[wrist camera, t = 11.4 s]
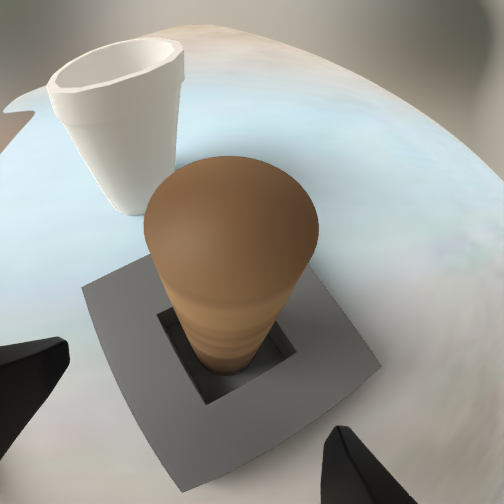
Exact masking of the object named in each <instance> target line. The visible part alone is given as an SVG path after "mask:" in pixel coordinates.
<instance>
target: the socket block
mask: <svg viewBox="0 0 504 504" xmlns="http://www.w3.org/2000/svg"><path fill="white" fill-rule="evenodd" d="M81 288H82V291H83V294H84V298H85V301H86V304H87V307H88V310H89V313H90V316H91V319H92V322H93V325H94V328H95V331H96V333H97V336H98V339H99V341H100V344H101V346H102V349H103V351H104V354H105V356H106V359H107V361H108V364H109V366H110V368H111V371H112V373H113V375H114V377H115V380H116V382H117V384H118V386H119V388H120V390H121V392H122V394H123V396H124V398H125V400H126V402H127V404H128V406H129V408H130V410H131V412H132V414H133V416H134V418H135V420H136V422H137V423H138V425H139V427H140V429H141V431H142V432H143V434H144V436H145V437H146V439H147V441H148V443H149V444H150V446H151V448H152V449H153V451H154V452H155V454H156V456H157V457H158V459H159V460H160V462H161V463H162V465H163V466H164V468H165V469H166V471H167V472H168V474H169V475H170V477H171V478H172V480H173V481H174V482H175V484H176V485H177V487H178V488H179V489H180V491H181V492H182V493H183V492H185V491H188V490H190V489H193V488H195V487H197V486H200V485H202V484H204V483H207V482H209V481H211V480H213V479H215V478H217V477H220V476H222V475H224V474H226V473H228V472H230V471H232V470H234V469H236V468H238V467H240V466H241V465H243V464H245V463H247V462H249V461H251V460H253V459H254V458H256V457H258V456H260V455H261V454H263V453H265V452H267V451H268V450H270V449H272V448H273V447H275V446H277V445H278V444H280V443H282V442H283V441H285V440H286V439H288V438H289V437H291V436H293V435H294V434H296V433H297V432H299V431H300V430H302V429H303V428H305V427H306V426H307V425H309V424H310V423H312V422H313V421H315V420H316V419H317V418H319V417H320V416H322V415H323V414H324V413H326V412H327V411H328V410H330V409H331V408H332V407H334V406H335V405H336V404H338V403H339V402H340V401H341V400H343V399H344V398H345V397H346V396H348V395H349V394H350V393H351V392H353V391H354V390H355V389H356V388H357V387H359V386H360V385H361V384H362V383H363V382H364V381H366V380H367V379H368V378H369V377H370V376H371V375H373V374H374V373H375V372H376V371H377V370H378V369H379V368H380V367H381V364H380V363H379V361H378V360H377V358H376V357H375V356H374V354H373V353H372V351H371V350H370V348H369V347H368V346H367V344H366V343H365V341H364V340H363V338H362V337H361V336H360V334H359V333H358V331H357V330H356V329H355V327H354V326H353V324H352V323H351V322H350V320H349V319H348V317H347V316H346V315H345V313H344V312H343V311H342V309H341V308H340V306H339V305H338V304H337V302H336V301H335V300H334V298H333V297H332V296H331V294H330V293H329V292H328V290H327V289H326V287H325V286H324V285H323V283H322V282H321V281H320V279H319V278H318V277H317V275H316V274H315V273H314V271H313V270H312V269H311V267H310V266H309V265H308V264H307V266H306V268H305V270H304V271H303V273H302V275H301V277H300V279H299V280H298V282H297V284H296V286H295V288H294V289H293V291H292V293H291V295H290V296H289V298H288V300H287V302H286V303H285V305H284V307H283V309H282V310H281V312H280V314H279V315H278V317H277V319H276V321H275V322H274V324H273V326H272V327H271V329H270V331H269V332H268V334H269V335H270V337H271V338H272V340H273V341H274V343H275V344H276V346H277V347H278V349H279V350H280V352H281V353H282V355H283V356H284V357H285V359H286V360H284V361H282V362H281V363H279V364H278V365H276V366H274V367H273V368H271V369H270V370H268V371H266V372H265V373H263V374H261V375H260V376H258V377H256V378H255V379H253V380H251V381H249V382H248V383H246V384H244V385H242V386H241V387H239V388H237V389H235V390H234V391H232V392H230V393H228V394H226V395H225V396H223V397H221V398H219V399H217V400H215V401H213V402H211V403H209V404H207V402H206V400H205V399H204V397H203V395H202V394H201V392H200V390H199V389H198V387H197V385H196V384H195V382H194V380H193V379H192V377H191V375H190V373H189V372H188V370H187V368H186V366H185V364H184V363H183V361H182V359H181V357H180V355H179V354H178V352H177V350H176V348H175V346H174V344H173V342H172V340H171V338H170V336H169V335H168V333H167V331H166V329H165V328H167V327H169V326H171V325H173V324H175V323H177V322H179V319H178V317H177V315H176V312H175V310H174V308H173V306H172V304H171V301H170V299H169V297H168V295H167V292H166V290H165V288H164V285H163V283H162V281H161V278H160V276H159V274H158V271H157V269H156V266H155V264H154V261H153V259H152V257H151V254H149V255H147V256H145V257H143V258H140V259H138V260H136V261H134V262H132V263H130V264H128V265H126V266H124V267H122V268H120V269H118V270H116V271H113V272H111V273H109V274H107V275H105V276H103V277H101V278H99V279H97V280H95V281H93V282H91V283H89V284H87V285H85V286H83V287H81Z"/></svg>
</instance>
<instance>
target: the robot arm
mask: <svg viewBox="0 0 504 504" xmlns="http://www.w3.org/2000/svg"><path fill="white" fill-rule="evenodd" d="M69 363H70V356H69V346H68V343H67V341H66V340H64V339H62V338H60V337H51V338H46V339H41V340H35V341H30V342H24V343H18V344H12V345H6V346H0V460H1V459H2V457H3V456H4V454H5V453H6V452H7V450H8V449H9V448H10V446H11V445H12V443H13V442H14V441H15V439H16V438H17V437H18V435H19V434H20V433H21V431H22V430H23V429H24V427H25V426H26V425H27V423H28V422H29V421H30V419H31V418H32V417H33V416H34V414H35V413H36V412H37V411H38V409H39V408H40V407H41V405H42V404H43V403H44V402H45V400H46V399H47V398H48V397H49V395H50V394H51V392H52V391H53V389H54V388H55V386H56V384H57V383H58V381H59V380H60V378H61V377H62V375H63V374H64V372H65V370H66V369H67V367H68V366H69ZM321 504H418V503H417V502H416V501H415V500H414V499H413V498H412V497H411V496H409V494H408V493H407V492H406V490H405V489H404V488H403V487H402V486H401V485H400V484H399V483H398V482H397V481H396V480H395V478H394V477H393V476H392V475H391V474H390V473H389V472H388V471H387V470H386V469H385V467H384V466H383V465H382V464H381V463H380V462H379V461H378V460H377V458H376V457H375V456H374V455H373V454H372V453H371V452H370V451H369V449H368V448H367V447H366V446H365V445H364V444H363V443H362V441H361V440H360V439H359V438H358V437H357V436H356V434H355V433H354V432H353V431H352V430H351V429H350V428H349V427H348V426H340V425H338V426H335V427H334V429H333V430H332V432H331V433H330V435H329V436H328V438H327V439H326V441H325V444H324V450H323V462H322V473H321Z"/></svg>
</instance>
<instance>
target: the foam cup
mask: <svg viewBox="0 0 504 504" xmlns="http://www.w3.org/2000/svg"><path fill="white" fill-rule="evenodd" d="M184 79H185V78H184V49H183V47H182V46H181V44H180V43H179V42H178V41H174V40H170V39H166V38H138V39H132V40H127V41H121V42H116V43H113V44H110V45H106V46H103V47H100V48H98V49H95V50H92V51H89V52H88V53H86V54H83V55H82V56H79V57H78V58H76V59H74V60H72V61H70V62H68V63H67V64H66V65H64V66H63V67H62V68H61V69H59V70H58V71H57V72H56V73H54V74H53V75H52V77H51V79H50V80H49V82H48V84H47V86H46V87H47V91H48V94H49V97H50V100H51V103H52V107H53V110H54V112H55V115H56V116H57V117H58V118H59V120H60V121H61V122H62V123H63V124H64V126H65V128H66V130H67V132H68V133H69V135H70V137H71V139H72V141H73V142H74V144H75V146H76V148H77V149H78V151H79V153H80V155H81V156H82V158H83V160H84V162H85V163H86V165H87V167H88V168H89V170H90V172H91V173H92V175H93V177H94V178H95V180H96V181H97V183H98V185H99V186H100V188H101V189H102V191H103V193H104V194H105V196H106V197H107V199H108V200H109V201H110V203H111V204H112V206H113V207H114V208H115V209H116V210H117V211H118V212H121V213H124V214H127V215H130V216H131V215H141V214H145V211H146V208H147V205H148V203H149V200H150V198H151V196H152V195H153V193H154V192H155V190H156V189H157V188H158V186H159V185H160V184H161V183H162V182H163V181H164V180H165V179H166V178H167V177H168V176H170V175H171V174H172V173H174V172H175V156H176V138H177V124H178V112H179V100H180V90H181V84H182V82H183V81H184Z"/></svg>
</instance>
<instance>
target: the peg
mask: <svg viewBox="0 0 504 504" xmlns="http://www.w3.org/2000/svg"><path fill="white" fill-rule="evenodd" d="M144 235H145V240H146V243H147V246H148V249H149V251H150V254H151V257H152V259H153V261H154V264H155V266H156V269H157V271H158V274H159V276H160V278H161V281H162V283H163V285H164V288H165V290H166V292H167V295H168V297H169V299H170V301H171V304H172V306H173V308H174V310H175V312H176V315H177V317H178V319H179V321H180V323H181V325H182V327H183V329H184V332H185V334H186V336H187V338H188V340H189V342H190V344H191V346H192V348H193V350H194V352H195V354H196V356H197V358H198V360H199V361H200V363H201V364H202V365H203V366H204V367H205V368H206V369H207V370H209V371H210V372H212V373H215V374H218V375H232V374H236V373H238V372H240V371H242V370H243V369H245V368H246V367H247V366H248V365H249V363H250V362H251V360H252V359H253V357H254V355H255V354H256V352H257V351H258V349H259V347H260V346H261V344H262V342H263V341H264V339H265V337H266V336H267V334H268V332H269V331H270V329H271V327H272V326H273V324H274V322H275V321H276V319H277V317H278V315H279V314H280V312H281V310H282V309H283V307H284V305H285V303H286V302H287V300H288V298H289V296H290V295H291V293H292V291H293V289H294V288H295V286H296V284H297V282H298V280H299V279H300V277H301V275H302V273H303V271H304V270H305V268H306V266H307V264H308V262H309V261H310V259H311V257H312V255H313V253H314V250H315V248H316V245H317V240H318V235H319V224H318V217H317V213H316V210H315V207H314V205H313V203H312V201H311V199H310V197H309V196H308V194H307V192H306V191H305V190H304V189H303V188H302V186H301V185H300V184H299V183H298V182H297V181H296V180H295V179H293V178H292V177H291V176H290V175H288V174H287V173H285V172H284V171H282V170H280V169H279V168H277V167H275V166H273V165H270V164H268V163H265V162H263V161H259V160H256V159H252V158H246V157H238V156H220V157H212V158H207V159H202V160H199V161H196V162H193V163H191V164H188V165H186V166H184V167H182V168H180V169H178V170H177V171H175V172H174V173H172V174H171V175H170V176H168V177H167V178H166V179H165V180H164V181H163V182H162V183H161V184H160V185H159V186H158V188H157V189H156V190H155V192H154V193H153V195H152V196H151V198H150V200H149V203H148V205H147V208H146V211H145V216H144Z"/></svg>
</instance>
